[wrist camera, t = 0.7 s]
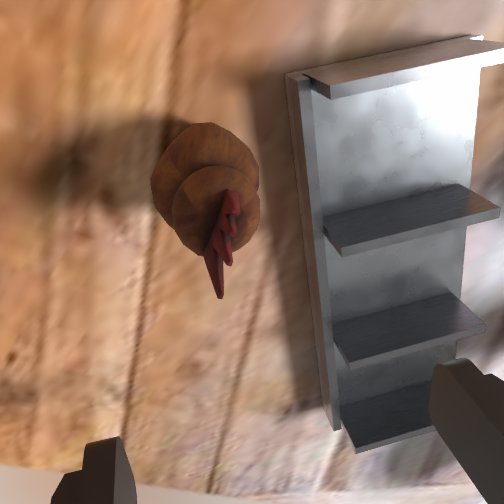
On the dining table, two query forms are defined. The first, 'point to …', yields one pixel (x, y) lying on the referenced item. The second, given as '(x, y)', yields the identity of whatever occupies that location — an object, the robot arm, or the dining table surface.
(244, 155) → the wooden figurine
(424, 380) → the grey shelf
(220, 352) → the dining table surface
